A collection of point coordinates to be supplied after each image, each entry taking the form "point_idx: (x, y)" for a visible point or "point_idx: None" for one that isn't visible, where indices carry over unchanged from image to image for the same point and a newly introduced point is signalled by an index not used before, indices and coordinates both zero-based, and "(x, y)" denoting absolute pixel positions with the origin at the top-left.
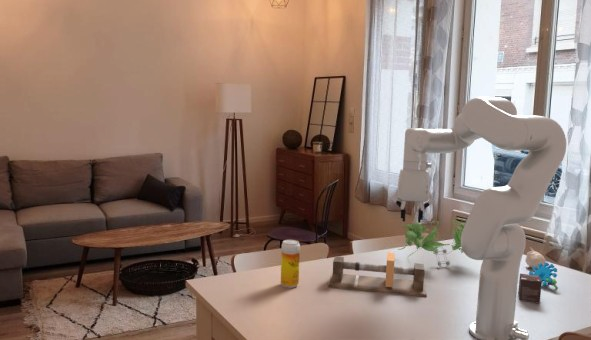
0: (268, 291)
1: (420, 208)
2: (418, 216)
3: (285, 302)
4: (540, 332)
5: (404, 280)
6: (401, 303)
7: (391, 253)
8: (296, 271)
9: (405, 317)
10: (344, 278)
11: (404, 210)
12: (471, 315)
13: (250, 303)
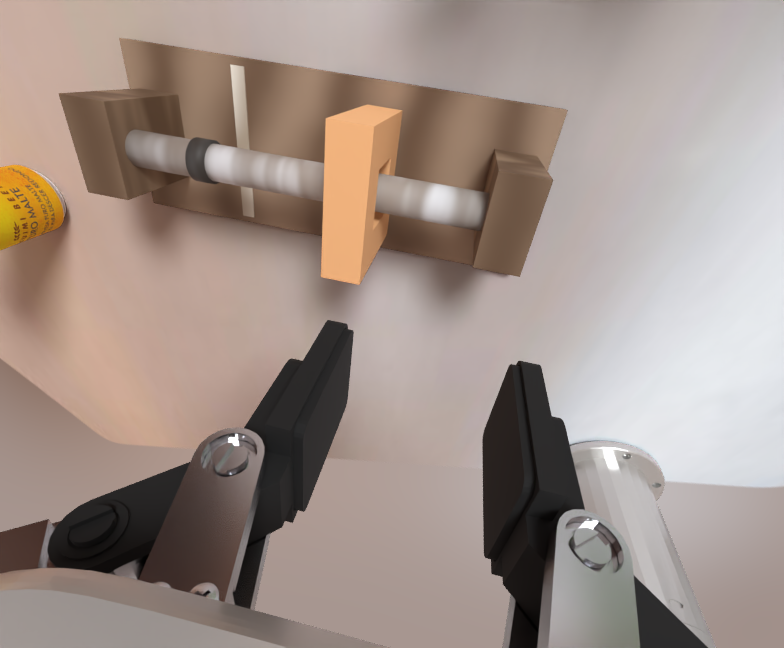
0: (19, 254)
1: (511, 604)
2: (487, 478)
3: (100, 323)
4: (745, 479)
5: (462, 106)
6: (406, 322)
7: (352, 140)
8: (15, 239)
9: (401, 400)
10: (190, 119)
11: (289, 513)
12: (603, 395)
13: (33, 330)
